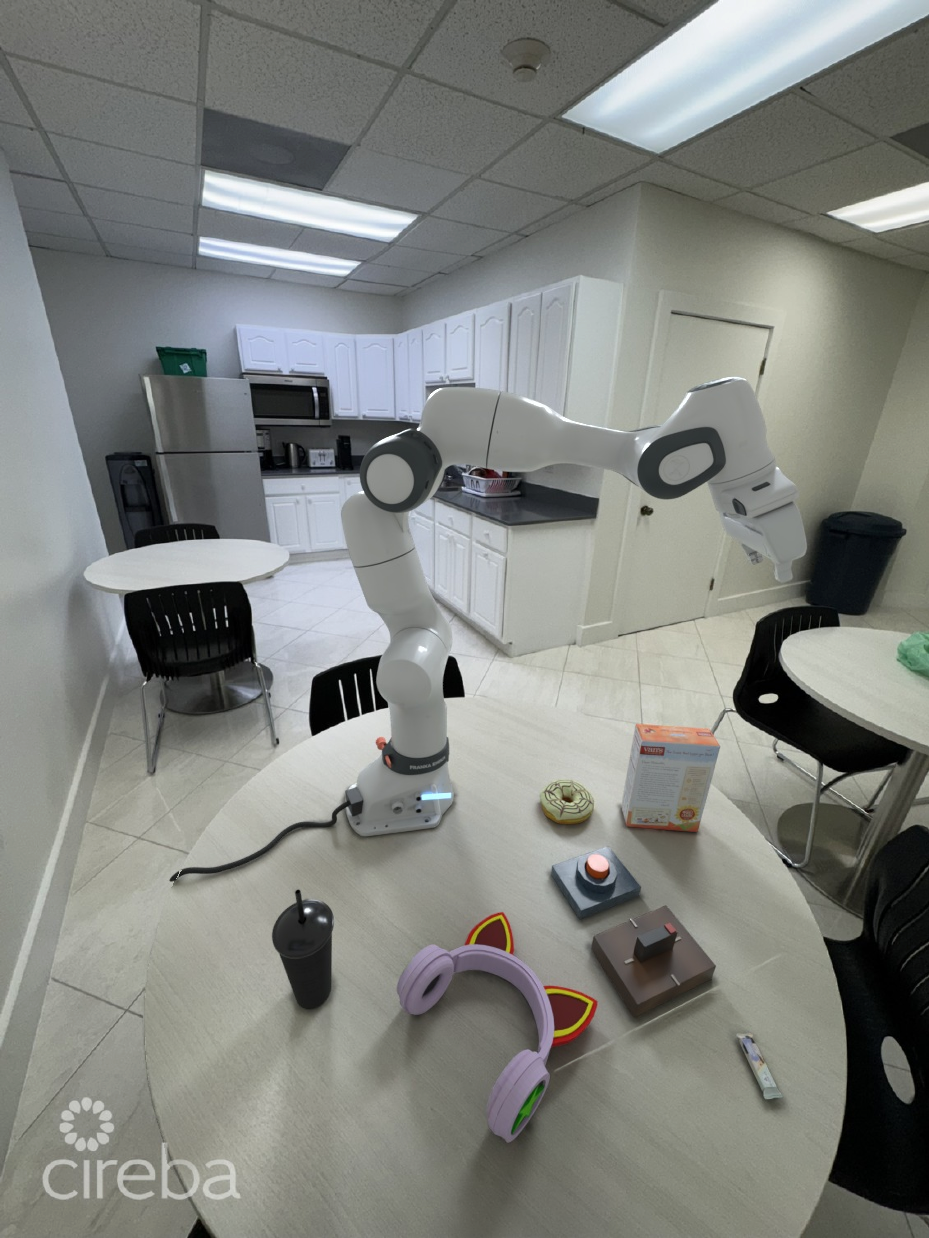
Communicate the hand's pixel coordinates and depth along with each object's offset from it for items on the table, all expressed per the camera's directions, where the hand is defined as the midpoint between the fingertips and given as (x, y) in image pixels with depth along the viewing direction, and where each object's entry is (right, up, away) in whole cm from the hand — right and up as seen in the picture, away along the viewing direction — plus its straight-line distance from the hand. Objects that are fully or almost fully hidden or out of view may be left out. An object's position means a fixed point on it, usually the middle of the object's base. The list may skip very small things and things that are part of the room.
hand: (769, 570), depth 76 cm
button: (-25, -50, +8) cm, 57 cm away
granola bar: (-11, -64, -14) cm, 67 cm away
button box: (-25, -54, +9) cm, 60 cm away
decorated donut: (-27, -47, +25) cm, 59 cm away
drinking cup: (-69, -60, -7) cm, 91 cm away
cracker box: (-8, -48, +23) cm, 54 cm away
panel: (-20, -59, -3) cm, 62 cm away
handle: (-20, -56, -4) cm, 60 cm away
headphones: (-43, -61, -9) cm, 75 cm away
